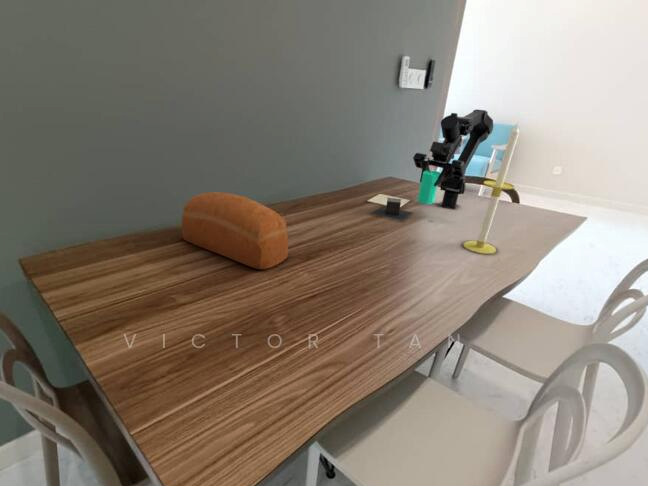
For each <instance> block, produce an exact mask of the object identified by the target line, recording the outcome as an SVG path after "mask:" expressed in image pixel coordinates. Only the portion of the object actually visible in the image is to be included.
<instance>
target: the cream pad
mask: <svg viewBox="0 0 648 486" xmlns="http://www.w3.org/2000/svg"><path fill="white" fill-rule="evenodd" d="M387 198H396V199H401V205H400V208H401V207H402V206H403V207H404V205H406V204H407V203H408V202H410V201H411V199H407V198H401V197H398V196H392V195H388V194H383V193H379V194H376V195H375V196H373V197H371V198H370V199H367V202H370V203H375V204H378V205H382V206H386V204H387Z"/></svg>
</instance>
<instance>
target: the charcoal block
mask: <svg viewBox="0 0 648 486" xmlns="http://www.w3.org/2000/svg"><path fill="white" fill-rule="evenodd" d="M400 205H401V199H396V198H387V204H386V205H385V207H386V211H385V214H389V215H397V216H398V215H399V210H401V207H400Z"/></svg>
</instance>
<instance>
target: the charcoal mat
mask: <svg viewBox="0 0 648 486" xmlns="http://www.w3.org/2000/svg"><path fill="white" fill-rule="evenodd" d="M385 211H386V205H382V206H381V207H379V208H378V209H376V210H374V211H373V212H371V214H372V215H377V216H381V217H384V218H390V219H393V220H397V221H403V220H404V219H405V218H407V217H408V216H409V215H411V214H413V213H412V212H411V211H407V210H404V209H400V210H399V215H398V216H397V215H389V214H385Z"/></svg>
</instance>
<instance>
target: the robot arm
mask: <svg viewBox="0 0 648 486" xmlns="http://www.w3.org/2000/svg"><path fill="white" fill-rule="evenodd" d="M440 127H441V134H442V138H443V141H442V142H440V141H432V144H431V146H430V148H429V152H431V158H430V157H428V155H427V153H422V152H416V153H414V155H413V157H412V159H413V163H414V165H415V167H416V168H417V169H421V173H420V179H419V183H420V184H421V181H422V176H423V172H424V171H431V169H430V167H431V166H432V167H436V168H440V169H442V170H441V171H440V175H439V177H438V179H437V181H436V182H435V183H434V186H437V187H438V186H439V185H440V188H439V189H440V191H443V197H442V200H441V202H440V203H439V204H438V205H439V206H441V207H443V208H447V209H452V210H455V209H456V208H457V207H458V206H459V204H458V199H459V195H464V194H465V191H466V176H465V175H466V170H467V168H468V167H469V165H470V163H471V161H472V159H473V157H474V155H475V153H476V151H477V150H478V147H479V146H480V144H481V143H483V142H484V141H486V140H487V139H488V138H489V136H490V135H491V134H492V133H493V131H494V120H493V118H492V117H491V116H490V115H489V113H488V110H485V109H473V110H472V112H470V113H468V114H466V115H465V116H458V113H456V112H451V114H449V115H447V116H445V117H443V118H442V119H441V121H440ZM463 136H464V137H467V136H469V137H468V140H467V142H466V143H465V145H464V147H463V148H462V151H461V152H460V154H459V157H458V159H455V154H456V152H457V150H458V149H459V147H462V142H463ZM451 160H452V161H451Z"/></svg>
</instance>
